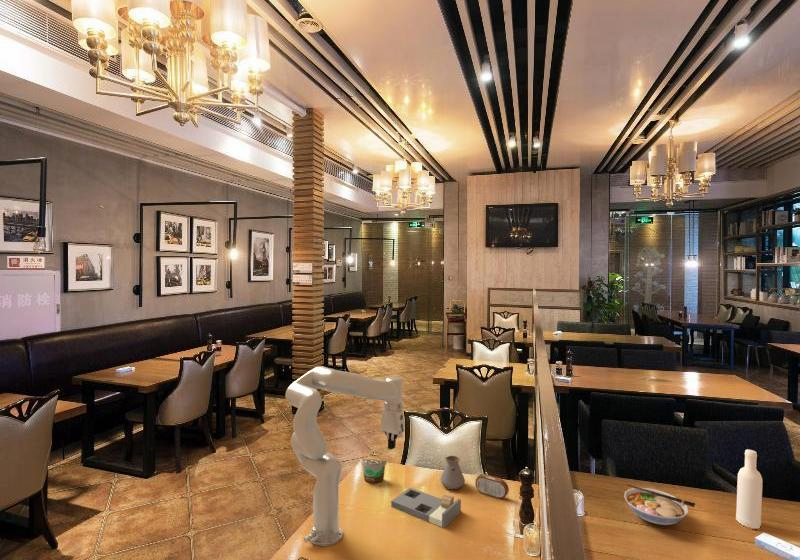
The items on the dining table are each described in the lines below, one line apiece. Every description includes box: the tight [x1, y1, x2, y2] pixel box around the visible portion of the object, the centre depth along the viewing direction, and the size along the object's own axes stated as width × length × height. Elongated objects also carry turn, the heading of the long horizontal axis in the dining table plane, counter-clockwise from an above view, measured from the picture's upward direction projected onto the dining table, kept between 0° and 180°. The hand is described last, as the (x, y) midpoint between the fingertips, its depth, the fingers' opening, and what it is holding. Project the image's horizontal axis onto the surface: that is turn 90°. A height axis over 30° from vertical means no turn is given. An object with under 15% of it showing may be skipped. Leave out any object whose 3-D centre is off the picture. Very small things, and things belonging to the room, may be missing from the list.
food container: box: [361, 457, 387, 485], centre depth 210 cm, size 12×6×10 cm, turn 80°
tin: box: [475, 473, 510, 500], centre depth 199 cm, size 15×3×8 cm, turn 58°
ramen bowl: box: [623, 484, 696, 526], centre depth 181 cm, size 25×23×8 cm
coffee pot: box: [439, 455, 466, 490], centre depth 202 cm, size 21×12×15 cm, turn 174°
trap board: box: [390, 487, 462, 529], centre depth 187 cm, size 14×26×6 cm, turn 55°
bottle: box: [735, 449, 763, 529], centre depth 177 cm, size 8×8×30 cm
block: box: [440, 493, 455, 509], centre depth 185 cm, size 4×4×4 cm
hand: (391, 448), depth 191 cm, fingers closed
